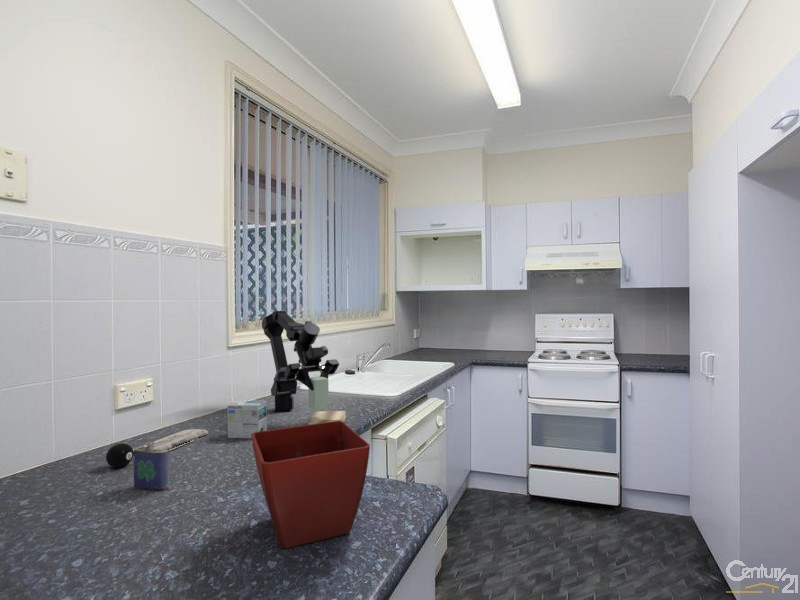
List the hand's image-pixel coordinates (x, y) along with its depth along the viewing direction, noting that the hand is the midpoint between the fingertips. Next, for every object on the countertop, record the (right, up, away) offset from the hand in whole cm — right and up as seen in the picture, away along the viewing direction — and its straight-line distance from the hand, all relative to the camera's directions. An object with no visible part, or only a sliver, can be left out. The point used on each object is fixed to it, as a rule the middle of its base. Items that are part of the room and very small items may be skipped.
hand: (320, 388), depth 151 cm
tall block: (-1, -7, +1) cm, 7 cm away
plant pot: (+10, -13, -66) cm, 68 cm away
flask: (-31, -14, -47) cm, 58 cm away
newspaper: (-43, -15, -14) cm, 48 cm away
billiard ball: (-47, -14, -33) cm, 59 cm away
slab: (+2, -13, +5) cm, 14 cm away
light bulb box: (-22, -14, -7) cm, 27 cm away
